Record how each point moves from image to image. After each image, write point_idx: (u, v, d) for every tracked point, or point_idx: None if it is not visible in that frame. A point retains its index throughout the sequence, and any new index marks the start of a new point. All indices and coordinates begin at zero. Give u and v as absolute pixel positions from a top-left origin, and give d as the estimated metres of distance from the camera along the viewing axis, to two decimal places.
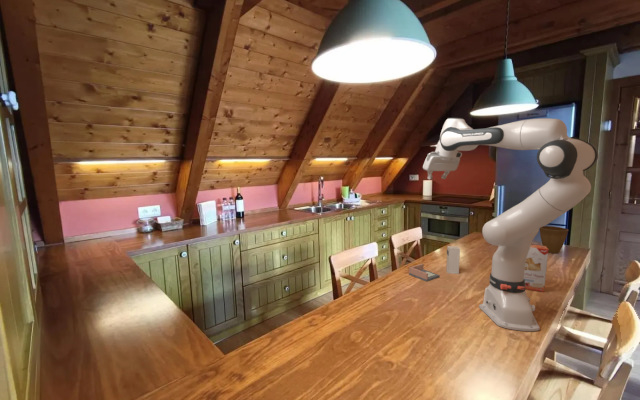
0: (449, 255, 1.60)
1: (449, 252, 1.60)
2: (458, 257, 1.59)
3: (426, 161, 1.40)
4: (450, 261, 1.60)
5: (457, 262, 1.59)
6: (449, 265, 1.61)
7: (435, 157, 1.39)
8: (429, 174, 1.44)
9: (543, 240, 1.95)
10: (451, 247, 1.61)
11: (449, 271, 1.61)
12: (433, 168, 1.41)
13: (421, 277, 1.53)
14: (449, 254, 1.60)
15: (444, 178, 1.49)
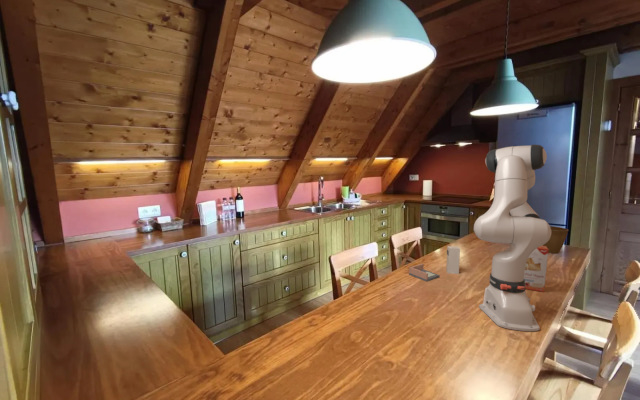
0: (449, 255, 1.60)
1: (449, 252, 1.60)
2: (458, 257, 1.59)
3: None
4: (450, 261, 1.60)
5: (457, 262, 1.59)
6: (449, 265, 1.61)
7: None
8: None
9: None
10: (451, 247, 1.61)
11: (449, 271, 1.61)
12: None
13: (421, 277, 1.53)
14: (449, 254, 1.60)
15: None
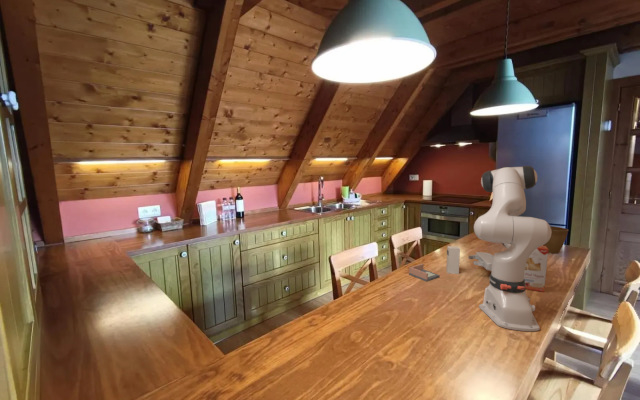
0: (449, 255, 1.60)
1: (449, 252, 1.60)
2: (458, 257, 1.59)
3: None
4: (450, 261, 1.60)
5: (457, 262, 1.59)
6: (449, 265, 1.61)
7: None
8: None
9: None
10: (451, 247, 1.61)
11: (449, 271, 1.61)
12: (479, 253, 1.64)
13: (421, 277, 1.53)
14: (449, 254, 1.60)
15: (474, 261, 1.55)
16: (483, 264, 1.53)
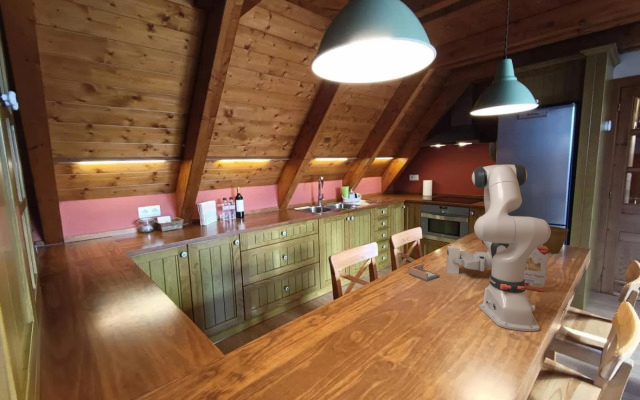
0: (449, 255, 1.60)
1: (449, 252, 1.60)
2: (458, 257, 1.59)
3: None
4: (450, 261, 1.60)
5: None
6: (449, 265, 1.61)
7: (470, 252, 1.66)
8: None
9: None
10: (451, 247, 1.61)
11: (449, 271, 1.61)
12: (460, 252, 1.67)
13: (421, 277, 1.53)
14: (449, 254, 1.60)
15: (453, 258, 1.59)
16: (461, 261, 1.56)
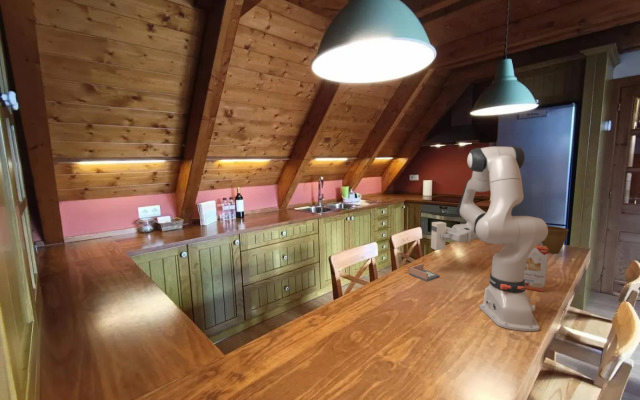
0: (437, 231, 1.54)
1: (437, 228, 1.54)
2: (445, 232, 1.55)
3: None
4: (438, 237, 1.55)
5: None
6: (437, 241, 1.55)
7: None
8: None
9: None
10: (437, 223, 1.56)
11: (437, 248, 1.55)
12: None
13: (421, 277, 1.53)
14: (437, 230, 1.54)
15: (441, 234, 1.54)
16: (450, 236, 1.53)
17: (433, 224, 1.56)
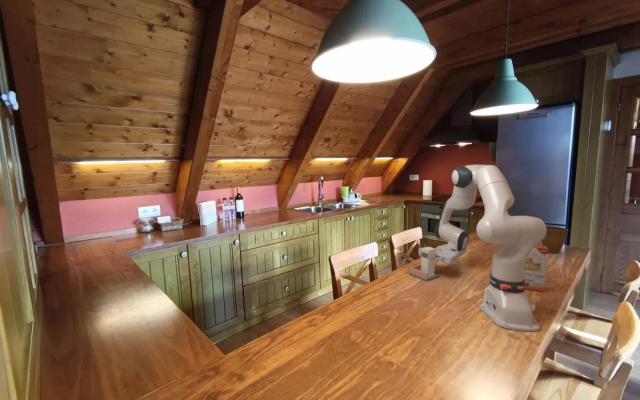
0: (428, 257, 1.53)
1: (428, 254, 1.52)
2: (434, 257, 1.55)
3: None
4: (429, 263, 1.54)
5: (433, 263, 1.55)
6: (428, 268, 1.54)
7: None
8: None
9: (543, 240, 1.95)
10: (427, 249, 1.54)
11: (428, 274, 1.54)
12: None
13: (421, 277, 1.53)
14: (428, 256, 1.53)
15: (434, 258, 1.52)
16: (442, 259, 1.52)
17: (423, 250, 1.55)
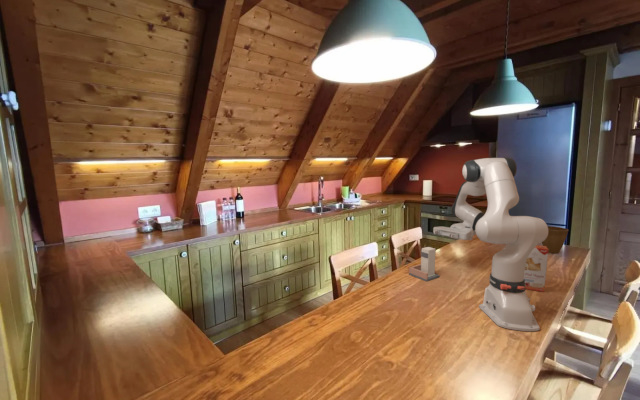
0: (428, 257, 1.53)
1: (428, 254, 1.52)
2: (434, 257, 1.55)
3: None
4: (429, 263, 1.54)
5: (433, 263, 1.55)
6: (428, 268, 1.54)
7: None
8: None
9: None
10: (427, 249, 1.54)
11: (428, 274, 1.54)
12: (439, 227, 1.68)
13: (421, 277, 1.53)
14: (428, 256, 1.53)
15: (450, 234, 1.56)
16: (458, 235, 1.57)
17: (423, 250, 1.55)
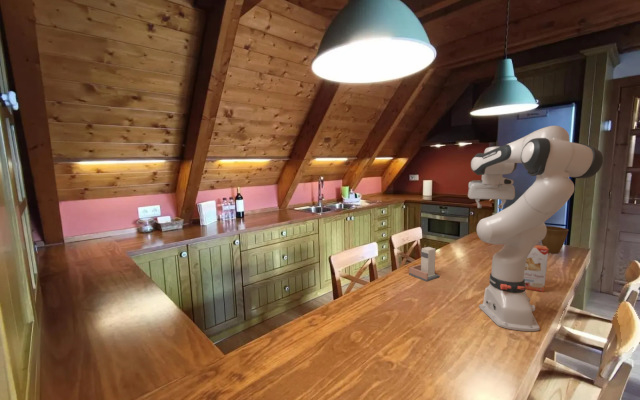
0: (428, 257, 1.53)
1: (428, 254, 1.52)
2: (434, 257, 1.55)
3: (469, 190, 1.49)
4: (429, 263, 1.54)
5: (433, 263, 1.55)
6: (428, 268, 1.54)
7: (476, 185, 1.45)
8: (477, 202, 1.48)
9: (543, 240, 1.95)
10: (427, 249, 1.54)
11: (428, 274, 1.54)
12: (477, 196, 1.46)
13: (421, 277, 1.53)
14: (428, 256, 1.53)
15: (500, 207, 1.45)
16: None
17: (423, 250, 1.55)
